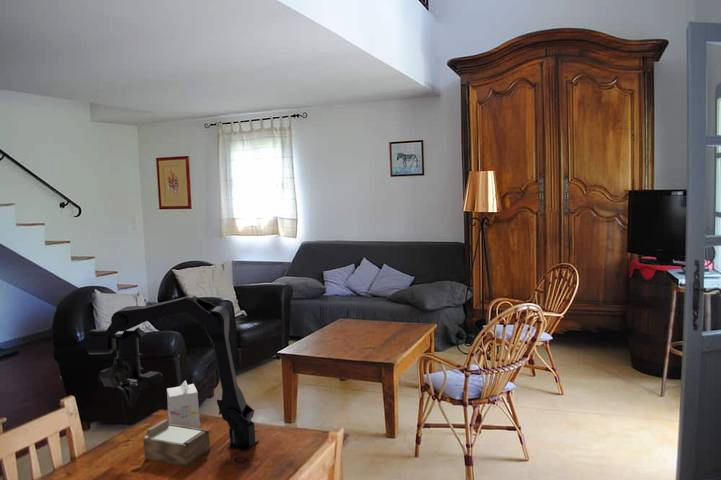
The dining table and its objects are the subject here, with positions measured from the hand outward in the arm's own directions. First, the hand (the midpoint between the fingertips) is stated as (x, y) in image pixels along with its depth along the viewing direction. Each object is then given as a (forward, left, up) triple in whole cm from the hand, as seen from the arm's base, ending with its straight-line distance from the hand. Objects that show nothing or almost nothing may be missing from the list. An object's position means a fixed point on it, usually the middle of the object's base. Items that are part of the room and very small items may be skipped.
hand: (132, 406), depth 164 cm
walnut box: (-14, -1, -12) cm, 19 cm away
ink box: (-3, -17, -13) cm, 21 cm away
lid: (-13, -1, -7) cm, 15 cm away
